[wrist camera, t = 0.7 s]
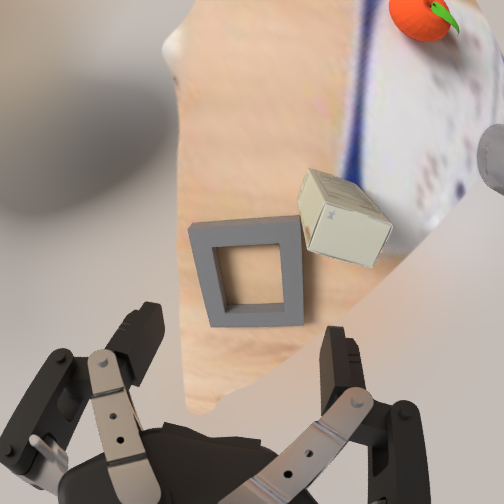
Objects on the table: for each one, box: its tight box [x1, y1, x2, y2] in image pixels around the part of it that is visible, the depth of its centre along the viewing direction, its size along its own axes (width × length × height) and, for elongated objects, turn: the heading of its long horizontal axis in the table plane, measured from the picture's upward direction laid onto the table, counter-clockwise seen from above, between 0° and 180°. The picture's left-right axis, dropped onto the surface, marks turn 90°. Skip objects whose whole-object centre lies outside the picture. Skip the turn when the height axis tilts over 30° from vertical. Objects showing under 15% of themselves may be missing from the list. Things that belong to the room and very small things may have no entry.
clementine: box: [389, 0, 459, 42], centre depth 19 cm, size 8×7×7 cm
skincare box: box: [297, 169, 393, 268], centre depth 27 cm, size 6×4×12 cm
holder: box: [188, 215, 304, 327], centre depth 38 cm, size 13×15×2 cm
